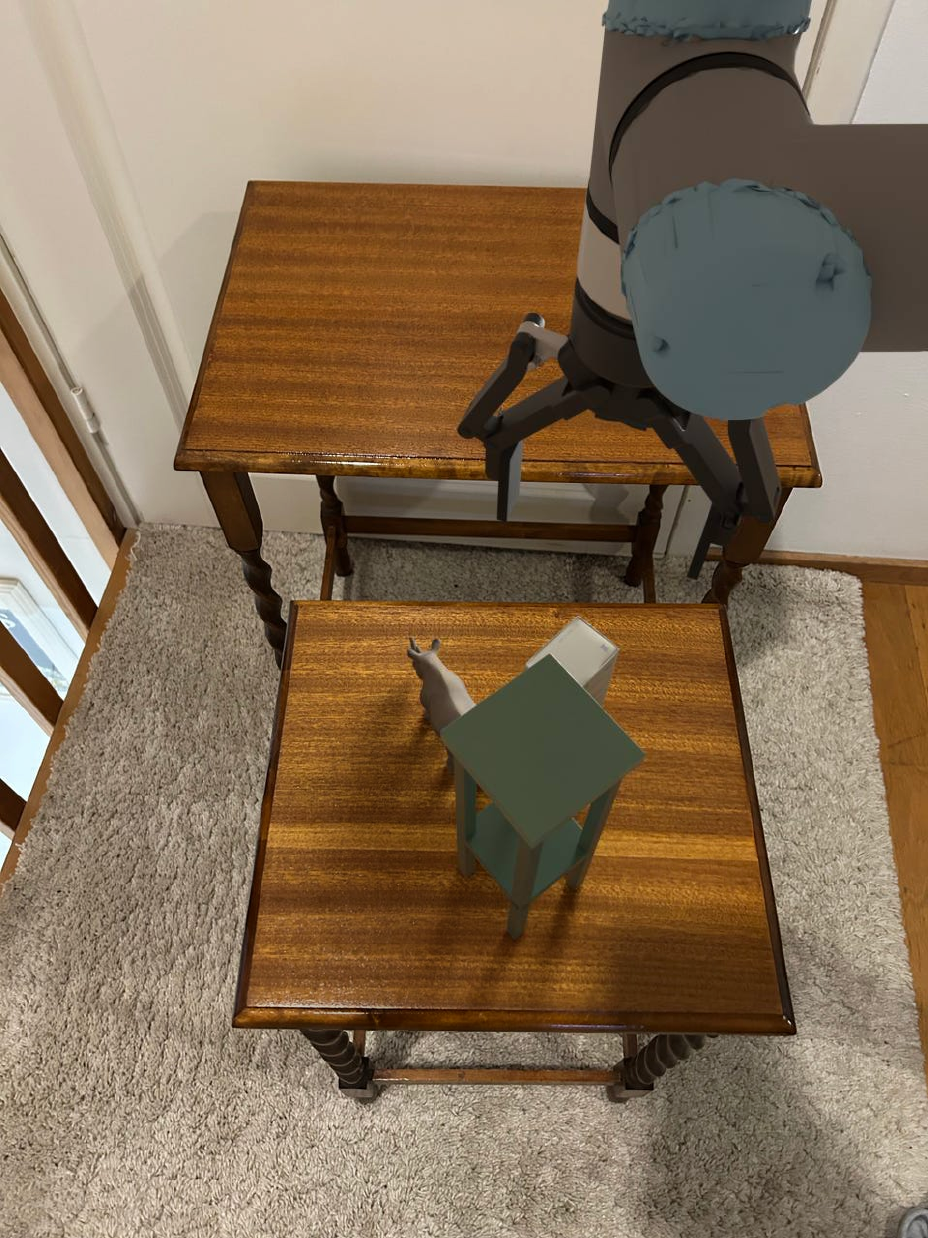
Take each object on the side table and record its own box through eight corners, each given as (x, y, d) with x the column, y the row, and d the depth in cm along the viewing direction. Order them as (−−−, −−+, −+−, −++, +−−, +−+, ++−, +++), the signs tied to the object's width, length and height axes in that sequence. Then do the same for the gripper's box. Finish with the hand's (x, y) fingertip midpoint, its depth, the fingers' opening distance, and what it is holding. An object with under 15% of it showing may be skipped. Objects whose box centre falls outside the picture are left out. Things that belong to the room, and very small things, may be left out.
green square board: (642, 762, 52) (646, 753, 51) (532, 850, 49) (533, 843, 48) (548, 662, 55) (550, 652, 54) (440, 739, 52) (439, 730, 51)
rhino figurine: (435, 643, 84) (433, 608, 79) (502, 774, 78) (504, 745, 73) (393, 660, 83) (388, 626, 78) (457, 794, 77) (456, 766, 72)
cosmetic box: (564, 683, 82) (578, 611, 72) (603, 716, 80) (623, 647, 70) (515, 730, 80) (522, 662, 69) (553, 764, 78) (566, 700, 68)
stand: (583, 883, 73) (631, 756, 51) (514, 940, 71) (533, 833, 49) (525, 815, 76) (548, 667, 54) (457, 868, 74) (452, 736, 52)
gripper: (916, 293, 46) (790, 545, 64) (447, 184, 51) (452, 447, 69) (895, 397, 43) (768, 633, 61) (392, 269, 47) (413, 523, 65)
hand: (600, 534), depth 65 cm, fingers open, 13 cm apart
